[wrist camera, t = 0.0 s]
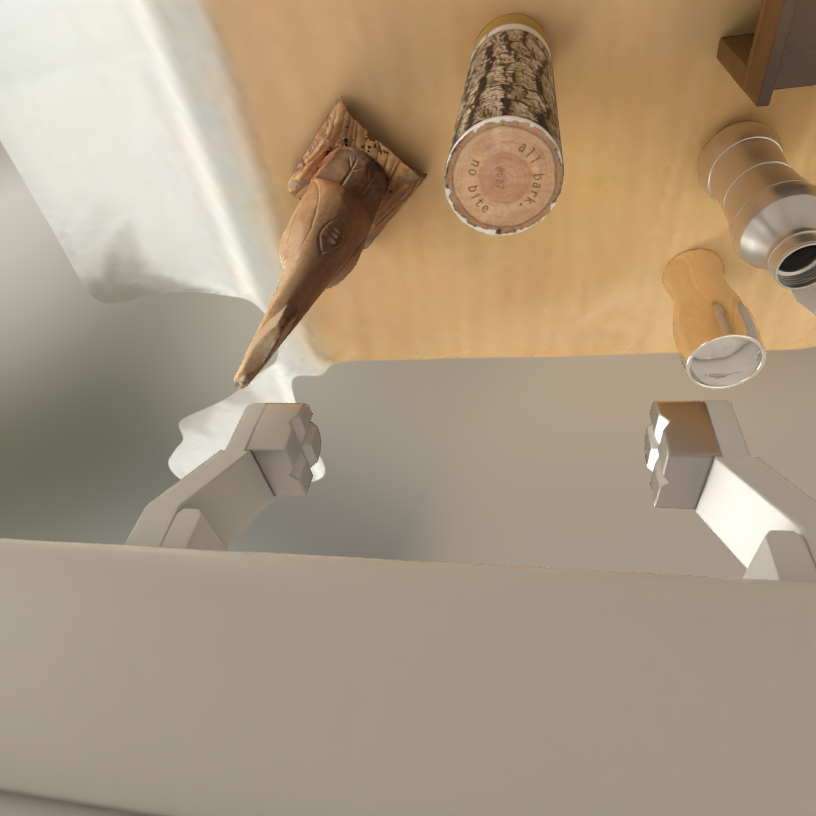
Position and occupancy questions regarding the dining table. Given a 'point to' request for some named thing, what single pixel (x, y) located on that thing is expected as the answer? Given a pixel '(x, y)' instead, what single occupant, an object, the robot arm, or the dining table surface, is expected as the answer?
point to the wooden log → (506, 132)
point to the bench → (774, 50)
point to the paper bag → (806, 297)
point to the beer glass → (711, 322)
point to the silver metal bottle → (763, 202)
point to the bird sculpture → (328, 224)
